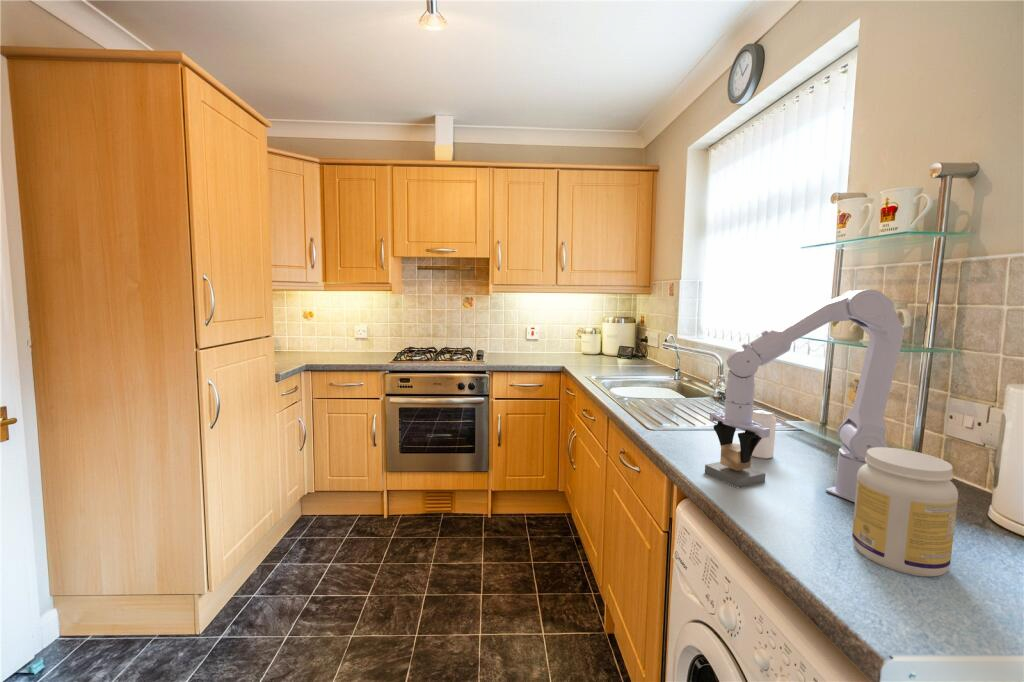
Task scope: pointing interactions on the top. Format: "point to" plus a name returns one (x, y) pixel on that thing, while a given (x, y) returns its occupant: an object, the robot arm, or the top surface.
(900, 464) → the supplement tub
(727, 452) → the oak block
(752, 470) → the slate base
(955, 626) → the top surface
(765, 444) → the can
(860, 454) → the robot arm
